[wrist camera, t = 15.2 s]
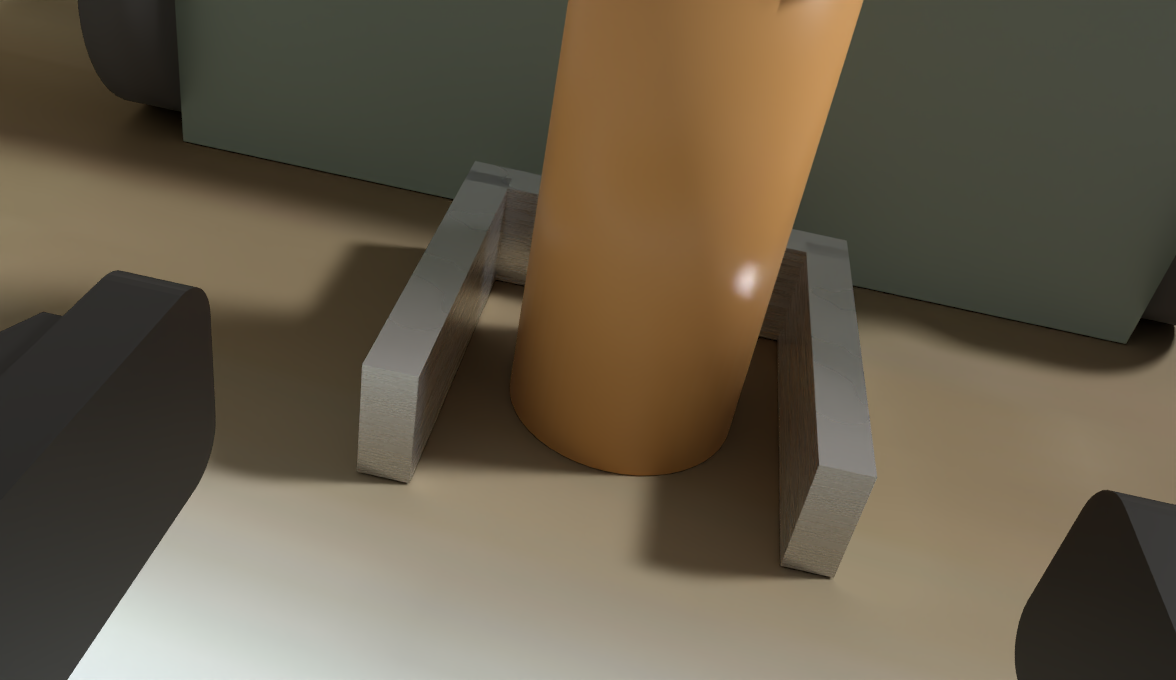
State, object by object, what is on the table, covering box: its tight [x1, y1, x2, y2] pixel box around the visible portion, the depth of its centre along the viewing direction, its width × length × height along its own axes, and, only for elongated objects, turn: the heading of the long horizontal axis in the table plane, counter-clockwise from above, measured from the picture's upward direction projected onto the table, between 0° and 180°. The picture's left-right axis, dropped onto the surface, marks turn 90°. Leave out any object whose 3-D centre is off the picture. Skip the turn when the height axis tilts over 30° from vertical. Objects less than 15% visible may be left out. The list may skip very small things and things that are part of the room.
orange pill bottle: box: [510, 0, 863, 476], centre depth 20 cm, size 5×5×11 cm
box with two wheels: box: [78, 0, 1176, 578], centre depth 27 cm, size 30×26×10 cm
